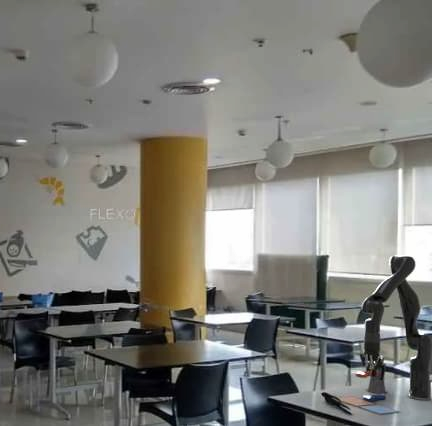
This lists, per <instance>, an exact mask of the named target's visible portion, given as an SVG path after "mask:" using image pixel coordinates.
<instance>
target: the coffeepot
mask: <svg viewBox="0 0 432 426" xmlns="http://www.w3.org/2000/svg"><path fill="white" fill-rule="evenodd" d="M374 363H375V362H374ZM368 364H369V363H368ZM374 367H375V364H374ZM370 368H371V371H372V364H371V367H370ZM386 368H387V363H386V362H383V363H382V366H381V368H379V369H377V371H378V372H379V375H378V376H376V377H372V376H369V377H370V378H369V383H368V388H367V391H368V392H370V393H373V394H386V385H385V374H386Z"/></svg>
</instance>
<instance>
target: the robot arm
mask: <svg viewBox="0 0 432 426" xmlns="http://www.w3.org/2000/svg"><path fill="white" fill-rule="evenodd" d="M389 269H390V272H391V276H389V277H388V278H386V279H385V280H383V281H382V282H381V283H380V284H379V285H378V287H377V288H376V290H375V291H374V292H373V293H372V294H370V295H369V296H368V297H366V298H365V299H364V300H363V302H362V304H361V310H362V313H363V314H366V315H371V316H372V317H371V318H368V319H366V320H365V321H364V333H363V350H364V351H363V352H362V353H359V357H360V362H361V364H362V366H363V367H365V371H371V368H370V367H371V364H372V377H376V375H377V369H379V368H381V366H382V363H384V361H385V358H384V357H381V355H380V352H381V322H382V320H383V317H384V314H385V304H384V303H386V302H387V301H388V300H389V299H390V298H391V296H392V295H393V293H394V292H395V290H396V291H397V292H396V293H397V296H398V301H399V305H400V309H401V313H402V318H403V322H404V333H405V339H406V344H407V347H408V348H409V349H410V350H413V351H415V352H416V356H413V357H411V358H410V359H409V389H408V393H409V394H408V395H409V398H410V399H411V398H412V399H415V400H419V401H430V400H431V398H432V381H431V362H432V337H431V336H429V335H428V334H424V333H420V332H419V330H418V329H419V328H418V319H419V316H420V314H421V308H422V307H421V303H420V299H419V295H418V294H417V292H416V291H415V290H414V288H413V287H412V286H411V285H410V283H409V282H408V281H407V278H408V277H409V276H410V275H411V274H412V273H413V272H414V271H415V269H416V260H415V259H414V257H412V256H411V255H393V256H391V257H390V259H389ZM374 362H375V363H374ZM368 363H369V364H368ZM374 364H375V367H374Z"/></svg>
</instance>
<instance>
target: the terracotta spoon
mask: <svg viewBox="0 0 432 426" xmlns="http://www.w3.org/2000/svg"><path fill="white" fill-rule="evenodd" d="M378 375H379V372H378V371H377V375H376V376H378ZM370 376H372V371H366V370H364V371H356V372H355V377H356V378H362V379H367V378H368V377H370Z"/></svg>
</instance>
